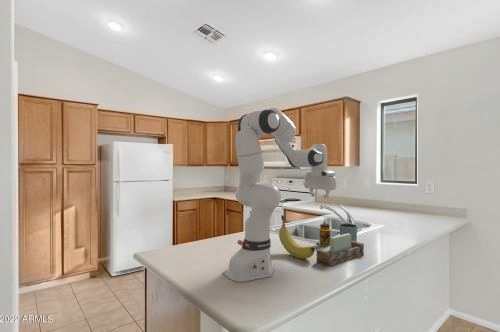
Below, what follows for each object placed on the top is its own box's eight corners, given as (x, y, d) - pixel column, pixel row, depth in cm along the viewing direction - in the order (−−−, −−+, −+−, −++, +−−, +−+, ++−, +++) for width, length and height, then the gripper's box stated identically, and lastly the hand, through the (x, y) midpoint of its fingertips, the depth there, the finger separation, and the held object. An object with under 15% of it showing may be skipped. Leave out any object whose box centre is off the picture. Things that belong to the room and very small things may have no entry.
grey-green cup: (354, 249, 151) (354, 227, 151) (336, 246, 157) (336, 225, 157) (359, 245, 159) (359, 224, 159) (342, 242, 165) (342, 222, 165)
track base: (328, 266, 125) (328, 253, 125) (316, 262, 131) (316, 250, 131) (363, 255, 141) (363, 243, 141) (351, 251, 147) (351, 240, 147)
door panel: (333, 258, 131) (333, 238, 131) (330, 257, 133) (330, 237, 133) (351, 253, 139) (351, 234, 139) (347, 252, 141) (347, 233, 141)
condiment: (323, 246, 156) (322, 226, 156) (315, 242, 164) (315, 223, 164) (333, 245, 158) (333, 225, 158) (325, 241, 166) (325, 222, 166)
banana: (317, 261, 133) (317, 220, 133) (310, 263, 129) (309, 222, 129) (284, 250, 150) (284, 214, 150) (276, 252, 147) (276, 215, 147)
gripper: (301, 172, 158) (301, 196, 158) (330, 173, 141) (330, 199, 141) (309, 172, 161) (309, 195, 162) (337, 172, 145) (338, 198, 145)
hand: (319, 197), depth 151 cm, fingers open, 8 cm apart
